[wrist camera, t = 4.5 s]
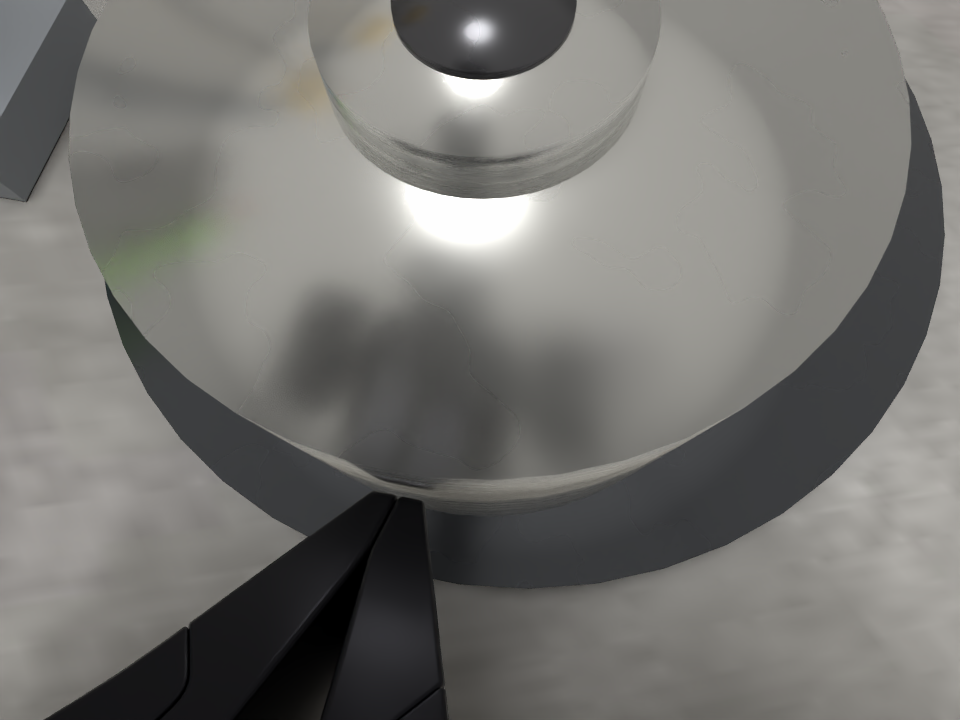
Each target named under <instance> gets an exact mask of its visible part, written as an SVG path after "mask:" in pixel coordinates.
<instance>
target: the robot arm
mask: <svg viewBox="0 0 960 720" xmlns="http://www.w3.org/2000/svg"><path fill="white" fill-rule="evenodd" d="M444 686H445V682H444V673H443V664H442V655H441V646H440V637H439V628H438V619H437V610H436V601H435V591H434V582H433V573H432V564H431V555H430V546H429V537H428V528H427V519H426V510H425V503H424V502H423V501H422V500H418V499H414V498H409V497H404V496H401V497H399V498H397V496H396V495H394V494H390V493H385V492H380V491H371V492H369V493H368V494H366V495H365V496H364V497H362V498H361V499H360V500H358V501H357V502H355V503H354V504H353V505H351V506H350V507H349V508H347V509H346V510H344V511H343V512H342V513H340V514H339V515H338V516H336V517H335V518H333V519H332V520H331V521H329V522H328V523H327V524H325V525H324V526H322V527H321V528H320V529H318V530H317V531H316V532H314V533H313V534H311V535H310V536H309V537H307V538H306V539H305V540H303V541H302V542H300V543H299V544H298V545H296V546H295V547H294V548H292V549H291V550H289V551H288V552H287V553H285V554H284V555H283V556H281V557H280V558H278V559H277V560H276V561H274V562H273V563H272V564H270V565H269V566H267V567H266V568H265V569H263V570H262V571H261V572H259V573H258V574H256V575H255V576H254V577H252V578H251V579H250V580H248V581H247V582H245V583H244V584H243V585H241V586H240V587H239V588H237V589H236V590H234V591H233V592H232V593H230V594H229V595H228V596H226V597H225V598H223V599H222V600H221V601H219V602H218V603H217V604H215V605H214V606H212V607H211V608H210V609H208V610H207V611H205V612H204V613H203V614H201V615H200V616H199V617H197V618H196V619H194V620H193V621H192V622H190V624H189V629H188V628H187V627H183V628H182V629H180V630H179V631H178V632H176V633H175V634H173V635H172V636H171V637H169V638H168V639H167V640H165V641H164V642H162V643H161V644H160V645H158V646H157V647H155V648H154V649H153V650H151V651H150V652H148V653H147V654H145V655H144V656H142V657H141V658H140V659H138V660H137V661H135V662H134V663H132V664H131V665H129V666H128V667H127V668H125V669H124V670H122V671H121V672H119V673H118V674H116V675H115V676H113V677H112V678H110V679H108V680H107V681H105V682H104V683H102V684H101V685H99V686H97V687H96V688H94V689H93V690H91V691H89V692H88V693H86V694H85V695H83V696H82V697H80V698H78V699H77V700H75V701H74V702H72V703H71V704H69V705H67V706H66V707H64V708H62V709H61V710H59V711H57V712H56V713H54V714H52V715H51V716H49V717H48V718H46V719H44V720H449V717H448V707H447V698H446V691H445V689H444Z"/></svg>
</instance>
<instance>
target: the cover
mask: <svg viewBox="0 0 960 720" xmlns="http://www.w3.org/2000/svg"><path fill="white" fill-rule="evenodd" d="M910 152H911V125H910V103H909V95H908V90H907V86H906V81H905V76H904V71H903V67H902V62H901V57H900V54H899V51H898V48H897V46H896V43H895V41H894V38H893V35H892V33H891V30H890V27H889V25H888V22H887V20H886V17H885V14H884V12H883V11H882V9H881V7H880V5H879V3H878V2H877V0H107V2H106V4H105V6H104V8H103V10H102V12H101V14H100V16H99V18H98V20H97V21H96V23H95V25H94V27H93V29H92V32H91V34H90V37H89V40H88V43H87V46H86V49H85V52H84V55H83V58H82V60H81V63H80V66H79V69H78V73H77V78H76V84H75V89H74V94H73V100H72V105H71V111H70V129H69V164H70V171H71V178H72V185H73V192H74V199H75V205H76V209H77V212H78V215H79V218H80V221H81V224H82V227H83V230H84V233H85V236H86V239H87V243H88V246H89V249H90V252H91V254H92V256H93V257H94V259H95V261H96V263H97V265H98V267H99V269H100V271H101V273H102V275H103V277H104V279H105V281H106V282H107V284H108V286H109V288H110V290H111V292H112V294H113V296H114V297H115V299H116V300H117V301H118V303H119V304H120V305H121V307H122V308H123V309H124V311H125V312H126V313H127V315H128V316H129V317H130V319H131V320H132V321H133V323H134V324H135V325H136V327H137V328H138V329H139V331H140V332H141V333H142V335H143V336H144V337H145V339H146V340H147V341H148V342H149V343H150V344H151V345H152V346H153V347H155V348H156V349H157V350H158V351H159V352H160V353H161V354H162V355H163V356H164V357H165V358H166V359H167V360H168V361H169V362H170V363H171V364H172V365H173V366H174V367H175V368H176V369H177V370H178V371H179V372H180V373H181V374H183V375H184V376H185V377H186V378H187V379H188V380H189V381H191V382H192V383H194V384H195V385H197V386H198V387H199V388H201V389H202V390H204V391H205V392H206V393H208V394H209V395H211V396H212V397H214V398H215V399H216V400H218V401H219V402H221V403H222V404H223V405H225V406H226V407H228V408H229V409H231V410H232V411H233V412H235V413H236V414H238V415H240V416H242V417H243V418H245V419H247V420H249V421H251V422H252V423H254V424H256V425H258V426H259V427H261V428H263V429H265V430H267V431H268V432H270V433H272V434H274V435H275V436H277V437H279V438H281V439H282V440H284V441H286V442H288V443H290V444H291V445H293V446H295V447H297V448H298V449H300V450H302V451H304V452H306V453H307V454H309V455H311V456H313V457H314V458H316V459H318V460H320V461H322V462H323V463H325V464H327V465H329V466H330V467H332V468H334V469H336V470H338V471H339V472H341V473H343V474H345V475H346V476H348V477H350V478H352V479H353V480H355V481H357V482H359V483H361V484H363V485H365V486H367V487H369V488H371V489H373V490H375V491H380V492H385V493H390V494H394V495H396V496H397V498H399V497H401V496H404V497H409V498H414V499H418V500H422V501H423V502H424V503H425V509H429V510H434V511H439V512H444V513H450V514H455V515H472V516H489V517H491V516H505V515H518V514H528V513H533V512H537V511H542V510H547V509H551V508H556V507H561V506H564V505H566V504H569V503H572V502H575V501H577V500H580V499H583V498H586V497H589V496H591V495H594V494H596V493H598V492H600V491H602V490H604V489H606V488H608V487H609V486H611V485H613V484H615V483H617V482H619V481H621V480H623V479H625V478H626V477H628V476H630V475H631V474H633V473H635V472H637V471H638V470H640V469H642V468H643V467H645V466H647V465H648V464H650V463H652V462H653V461H655V460H657V459H658V458H660V457H662V456H664V455H665V454H667V453H669V452H670V451H672V450H674V449H675V448H677V447H679V446H680V445H682V444H684V443H686V442H687V441H689V440H691V439H692V438H694V437H696V436H697V435H699V434H701V433H702V432H704V431H706V430H708V429H709V428H711V427H713V426H714V425H716V424H718V423H719V422H721V421H723V420H724V419H726V418H728V417H730V416H731V415H733V414H735V413H736V412H738V411H740V410H741V409H743V408H745V407H746V406H747V405H749V404H750V403H752V402H753V401H754V400H756V399H757V398H758V397H760V396H761V395H762V394H764V393H765V392H767V391H768V390H769V389H771V388H772V387H773V386H775V385H776V384H778V383H779V382H780V381H782V380H783V379H784V378H786V377H787V376H789V375H790V374H791V373H793V372H794V371H795V370H796V369H797V368H798V367H799V366H800V365H801V364H802V363H803V362H804V361H805V360H806V359H807V358H808V357H809V356H810V355H811V354H812V353H813V352H814V351H815V350H816V349H817V348H818V347H819V346H820V345H821V344H822V343H823V342H824V341H825V340H826V339H827V338H828V337H829V336H830V335H831V334H832V333H833V332H834V331H835V330H836V329H837V327H838V326H839V325H840V323H841V322H842V321H843V319H844V318H845V316H846V315H847V314H848V312H849V311H850V310H851V308H852V307H853V305H854V304H855V303H856V301H857V300H858V299H859V297H860V296H861V294H862V293H863V292H864V290H865V289H866V288H867V286H868V284H869V282H870V280H871V278H872V276H873V274H874V272H875V270H876V268H877V266H878V264H879V262H880V260H881V258H882V256H883V254H884V252H885V250H886V248H887V246H888V244H889V242H890V240H891V238H892V235H893V231H894V228H895V225H896V221H897V218H898V215H899V212H900V208H901V205H902V202H903V198H904V195H905V192H906V184H907V176H908V168H909V160H910Z"/></svg>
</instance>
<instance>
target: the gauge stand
mask: <svg viewBox="0 0 960 720" xmlns="http://www.w3.org/2000/svg"><path fill="white" fill-rule="evenodd" d="M96 21H97V19H96V18H95V17H94V15H93V14H92V13H91V11H90V10H89V9H88V7H87V6H86V4H85V3H84V2H83V0H0V197H3V198H9V199H14V200H20V201H26V200H27V198H28V196H29V194H30V192H31V190H32V188H33V187H34V185H35V183H36V181H37V179H38V177H39V175H40V173H41V171H42V169H43V167H44V165H45V163H46V161H47V159H48V158H49V156H50V154H51V152H52V150H53V148H54V146H55V144H56V142H57V140H58V138H59V136H60V134H61V132H62V130H63V128H64V127H65V125H66V123H67V121H68V119H69V117H70V111H71V105H72V100H73V94H74V89H75V84H76V78H77V73H78V69H79V66H80V63H81V60H82V58H83V55H84V52H85V49H86V46H87V43H88V40H89V37H90V34H91V32H92V29H93V27H94V25H95V23H96Z"/></svg>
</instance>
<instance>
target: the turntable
mask: <svg viewBox="0 0 960 720" xmlns="http://www.w3.org/2000/svg"><path fill="white" fill-rule="evenodd" d="M905 81H906V79H905ZM906 86H907V90H908V95H909V103H910V125H911V152H910V160H909V168H908V176H907V184H906V192H905V195H904V198H903V202H902V205H901V208H900V212H899V215H898V218H897V221H896V225H895V228H894V231H893V235H892V238H891V240H890V242H889V244H888V246H887V248H886V250H885V252H884V254H883V256H882V258H881V260H880V262H879V264H878V266H877V268H876V270H875V272H874V274H873V276H872V278H871V280H870V282H869V284H868V286H867V288H866V289H865V290H864V292H863V293H862V294H861V296H860V297H859V299H858V300H857V301H856V303H855V304H854V305H853V307H852V308H851V310H850V311H849V312H848V314H847V315H846V316H845V318H844V319H843V321H842V322H841V323H840V325H839V326H838V327H837V329H836V330H835V331H834V332H833V333H832V334H831V335H830V336H829V337H828V338H827V339H826V340H825V341H824V342H823V343H822V344H821V345H820V346H819V347H818V348H817V349H816V350H815V351H814V352H813V353H812V354H811V355H810V356H809V357H808V358H807V359H806V360H805V361H804V362H803V363H802V364H801V365H800V366H799V367H798V368H797V369H796V370H795V371H794V372H793V373H791V374H790V375H789V376H787V377H786V378H784V379H783V380H782V381H780V382H779V383H778V384H776V385H775V386H773V387H772V388H771V389H769V390H768V391H767V392H765V393H764V394H762V395H761V396H760V397H758V398H757V399H756V400H754V401H753V402H752V403H750V404H749V405H747V406H746V407H745V408H743V409H741V410H740V411H738V412H736V413H735V414H733V415H731V416H730V417H728V418H726V419H724V420H723V421H721V422H719V423H718V424H716V425H714V426H713V427H711V428H709V429H708V430H706V431H704V432H702V433H701V434H699V435H697V436H696V437H694V438H692V439H691V440H689V441H687V442H686V443H684V444H682V445H680V446H679V447H677V448H675V449H674V450H672V451H670V452H669V453H667V454H665V455H664V456H662V457H660V458H658V459H657V460H655V461H653V462H652V463H650V464H648V465H647V466H645V467H643V468H642V469H640V470H638V471H637V472H635V473H633V474H631V475H630V476H628V477H626V478H625V479H623V480H621V481H619V482H617V483H615V484H613V485H611V486H609V487H608V488H606V489H604V490H602V491H600V492H598V493H596V494H594V495H591V496H589V497H586V498H583V499H580V500H577V501H575V502H572V503H569V504H566V505H564V506H561V507H556V508H551V509H547V510H542V511H537V512H533V513H528V514H518V515H505V516H491V517H489V516H472V515H455V514H450V513H444V512H439V511H434V510H429V509H425V510H426V519H427V528H428V537H429V546H430V555H431V564H432V573H433V579H436V580H441V581H446V582H451V583H456V584H464V585H480V586H495V587H511V588H527V589H529V588H542V587H555V586H569V585H582V584H595V583H601V582H605V581H610V580H614V579H619V578H623V577H628V576H632V575H637V574H641V573H646V572H650V571H655V570H659V569H664V568H667V567H669V566H672V565H674V564H677V563H680V562H682V561H685V560H688V559H690V558H693V557H696V556H698V555H701V554H704V553H706V552H709V551H711V550H714V549H717V548H719V547H722V546H725V545H727V544H729V543H731V542H732V541H734V540H736V539H738V538H739V537H741V536H743V535H745V534H747V533H748V532H750V531H752V530H754V529H756V528H757V527H759V526H761V525H763V524H765V523H766V522H768V521H770V520H772V519H773V518H775V517H777V516H779V515H781V514H782V513H784V512H785V511H786V510H788V509H789V508H790V507H791V506H793V505H794V504H795V503H797V502H798V501H799V500H800V499H802V498H803V497H804V496H806V495H807V494H808V493H809V492H811V491H812V490H813V489H815V488H816V487H817V486H818V485H820V484H821V483H822V482H824V481H825V480H826V479H827V478H829V477H830V476H831V475H832V474H833V473H834V472H835V471H836V470H837V469H838V468H839V467H840V466H841V465H842V464H843V463H844V461H845V460H846V459H847V458H848V457H849V456H850V455H851V454H852V453H853V452H854V451H855V450H856V449H857V448H858V446H859V445H860V444H861V443H862V442H863V441H864V440H865V439H866V438H867V437H868V436H869V435H870V434H871V433H872V431H873V430H874V428H875V427H876V425H877V424H878V422H879V421H880V419H881V418H882V417H883V415H884V414H885V412H886V411H887V409H888V408H889V406H890V405H891V403H892V402H893V400H894V399H895V397H896V396H897V394H898V393H899V391H900V390H901V388H902V387H903V385H904V383H905V381H906V379H907V377H908V374H909V372H910V370H911V368H912V366H913V363H914V361H915V359H916V357H917V355H918V352H919V350H920V348H921V346H922V344H923V341H924V339H925V337H926V335H927V331H928V327H929V323H930V320H931V316H932V312H933V308H934V305H935V301H936V297H937V294H938V290H939V286H940V277H941V267H942V257H943V247H944V237H945V233H944V217H943V201H942V186H941V181H940V177H939V172H938V168H937V163H936V159H935V154H934V150H933V145H932V141H931V138H930V135H929V132H928V130H927V127H926V125H925V122H924V119H923V117H922V114H921V111H920V109H919V106H918V104H917V101H916V98H915V96H914V94H913V92H912V90H911V89H910V87H909V85H908V83H907V81H906ZM105 285H106V291H107V297H108V300H109V303H110V306H111V309H112V313H113V316H114V319H115V322H116V325H117V328H118V331H119V334H120V337H121V340H122V343H123V346H124V348H125V350H126V352H127V354H128V356H129V358H130V360H131V362H132V364H133V366H134V368H135V370H136V372H137V373H138V375H139V377H140V379H141V381H142V383H143V385H144V387H145V389H146V391H147V393H148V394H149V396H150V397H151V399H152V400H153V401H154V403H155V404H156V405H157V407H158V408H159V410H160V411H161V412H162V414H163V415H164V416H165V418H166V419H167V421H168V422H169V423H170V425H171V426H172V427H173V429H174V430H175V432H176V433H177V434H178V436H179V437H180V438H181V440H182V441H183V442H184V443H185V444H186V445H187V446H188V447H189V448H190V449H191V450H192V451H193V452H194V453H195V454H196V455H197V456H198V457H199V458H200V459H201V460H202V461H203V462H204V463H205V464H206V465H207V466H208V467H209V468H210V469H211V470H212V471H213V472H214V473H215V474H216V475H217V476H218V477H219V478H220V479H221V480H222V481H224V482H225V483H226V484H228V485H229V486H230V487H232V488H233V489H234V490H236V491H237V492H239V493H240V494H241V495H243V496H244V497H245V498H247V499H248V500H249V501H251V502H252V503H253V504H255V505H256V506H258V507H259V508H260V509H262V510H263V511H264V512H266V513H267V514H268V515H270V516H271V517H272V518H274V519H276V520H278V521H280V522H282V523H284V524H286V525H287V526H289V527H291V528H293V529H295V530H297V531H299V532H301V533H303V534H304V535H306V536H308V537H309V536H310V535H311V534H313V533H314V532H316V531H317V530H318V529H320V528H321V527H322V526H324V525H325V524H327V523H328V522H329V521H331V520H332V519H333V518H335V517H336V516H338V515H339V514H340V513H342V512H343V511H344V510H346V509H347V508H349V507H350V506H351V505H353V504H354V503H355V502H357V501H358V500H360V499H361V498H362V497H364V496H365V495H366V494H368V493H369V492H371V491H375V490H373V489H371V488H369V487H367V486H365V485H363V484H361V483H359V482H357V481H355V480H353V479H352V478H350V477H348V476H346V475H345V474H343V473H341V472H339V471H338V470H336V469H334V468H332V467H330V466H329V465H327V464H325V463H323V462H322V461H320V460H318V459H316V458H314V457H313V456H311V455H309V454H307V453H306V452H304V451H302V450H300V449H298V448H297V447H295V446H293V445H291V444H290V443H288V442H286V441H284V440H282V439H281V438H279V437H277V436H275V435H274V434H272V433H270V432H268V431H267V430H265V429H263V428H261V427H259V426H258V425H256V424H254V423H252V422H251V421H249V420H247V419H245V418H243V417H242V416H240V415H238V414H236V413H235V412H233V411H232V410H231V409H229V408H228V407H226V406H225V405H223V404H222V403H221V402H219V401H218V400H216V399H215V398H214V397H212V396H211V395H209V394H208V393H206V392H205V391H204V390H202V389H201V388H199V387H198V386H197V385H195V384H194V383H192V382H191V381H189V380H188V379H187V378H186V377H185V376H184V375H183V374H181V373H180V372H179V371H178V370H177V369H176V368H175V367H174V366H173V365H172V364H171V363H170V362H169V361H168V360H167V359H166V358H165V357H164V356H163V355H162V354H161V353H160V352H159V351H158V350H157V349H156V348H155V347H153V346H152V345H151V344H150V343H149V342H148V341H147V340H146V339H145V337H144V336H143V335H142V333H141V332H140V331H139V329H138V328H137V327H136V325H135V324H134V323H133V321H132V320H131V319H130V317H129V316H128V315H127V313H126V312H125V311H124V309H123V308H122V307H121V305H120V304H119V303H118V301H117V300H116V299H115V297H114V296H113V294H112V292H111V290H110V288H109V286H108V284H107V282H106V281H105Z"/></svg>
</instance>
